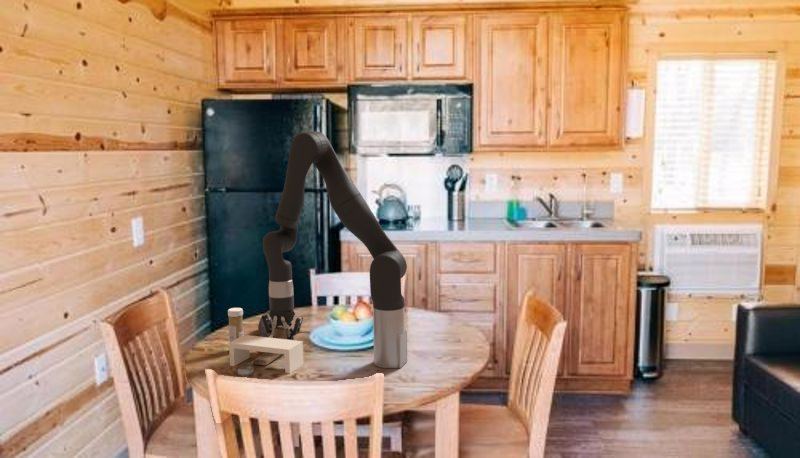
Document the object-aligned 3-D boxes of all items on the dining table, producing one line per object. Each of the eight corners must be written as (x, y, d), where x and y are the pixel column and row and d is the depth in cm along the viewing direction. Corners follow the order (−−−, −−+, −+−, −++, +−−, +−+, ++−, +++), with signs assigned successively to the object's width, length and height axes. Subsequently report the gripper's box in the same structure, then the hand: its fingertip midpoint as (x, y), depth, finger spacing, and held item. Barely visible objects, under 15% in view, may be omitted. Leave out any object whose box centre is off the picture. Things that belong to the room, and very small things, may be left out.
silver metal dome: (257, 372, 180) (256, 367, 180) (247, 377, 176) (247, 372, 176) (244, 370, 182) (244, 365, 182) (234, 375, 178) (234, 370, 178)
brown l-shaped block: (292, 347, 199) (291, 326, 198) (265, 365, 184) (264, 342, 183) (280, 346, 201) (279, 325, 200) (252, 363, 185) (251, 341, 184)
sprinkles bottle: (246, 350, 198) (244, 309, 196) (232, 353, 196) (230, 311, 194) (241, 347, 202) (239, 306, 200) (227, 349, 199) (225, 308, 198)
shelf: (303, 364, 186) (302, 341, 185) (290, 373, 178) (289, 349, 178) (245, 356, 193) (244, 334, 192) (230, 365, 185) (228, 342, 184)
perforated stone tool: (268, 341, 208) (267, 320, 207) (252, 340, 208) (251, 320, 208) (281, 327, 223) (280, 308, 222) (266, 327, 223) (265, 308, 222)
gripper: (307, 292, 197) (309, 345, 199) (267, 289, 202) (269, 341, 204) (296, 298, 190) (297, 353, 192) (254, 295, 195) (257, 348, 197)
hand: (283, 346), depth 198 cm, fingers closed on brown l-shaped block, 4 cm apart
